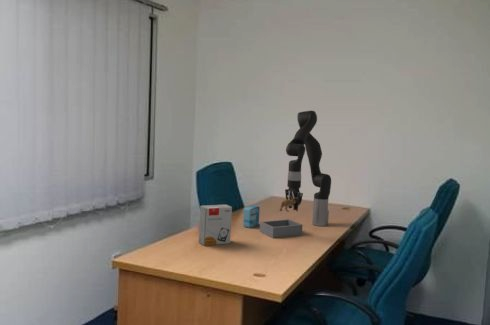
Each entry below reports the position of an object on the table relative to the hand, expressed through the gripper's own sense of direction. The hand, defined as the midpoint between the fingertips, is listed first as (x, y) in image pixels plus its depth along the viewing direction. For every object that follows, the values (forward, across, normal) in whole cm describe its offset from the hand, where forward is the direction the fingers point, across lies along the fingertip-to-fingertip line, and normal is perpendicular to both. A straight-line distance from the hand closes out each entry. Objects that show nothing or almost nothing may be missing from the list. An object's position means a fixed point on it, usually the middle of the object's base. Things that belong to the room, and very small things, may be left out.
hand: (293, 208), depth 262 cm
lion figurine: (+1, 0, +1) cm, 2 cm away
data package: (+17, +31, +8) cm, 36 cm away
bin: (+17, +10, +1) cm, 19 cm away
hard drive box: (+16, +7, +46) cm, 49 cm away
